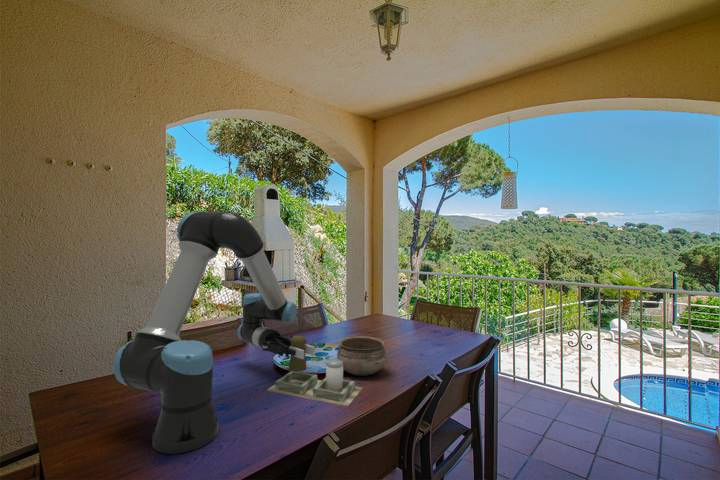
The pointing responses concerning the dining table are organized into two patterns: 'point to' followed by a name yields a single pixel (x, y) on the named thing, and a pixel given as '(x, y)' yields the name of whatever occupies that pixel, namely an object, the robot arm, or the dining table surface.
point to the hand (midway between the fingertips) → (308, 352)
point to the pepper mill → (296, 362)
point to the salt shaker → (334, 375)
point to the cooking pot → (362, 355)
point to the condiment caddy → (314, 388)
